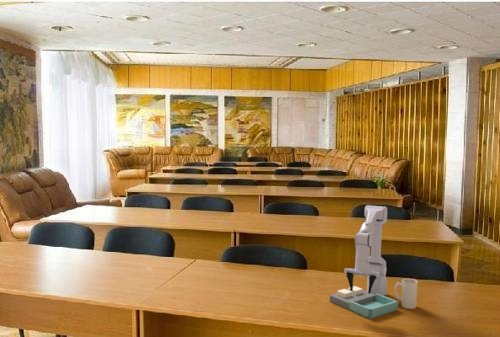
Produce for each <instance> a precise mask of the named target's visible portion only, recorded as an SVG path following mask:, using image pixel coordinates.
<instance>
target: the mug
mask: <svg viewBox="0 0 500 337" xmlns="http://www.w3.org/2000/svg"><path fill="white" fill-rule="evenodd" d="M399 286H401V295H399V294H398V292H397V288H398V287H399ZM393 291H394V292H393V293H394V295H395V297H396V299H397V300H400V301H401V307H403V308H405V309H408V310H412V309H416V308H417V297H418V296H417V295H418V280H417V279H414V278H407V277H406V278H402V279H401V282H400V281H396V283H395V285H394V287H393Z"/></svg>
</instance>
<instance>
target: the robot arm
mask: <svg viewBox="0 0 500 337" xmlns="http://www.w3.org/2000/svg"><path fill="white" fill-rule="evenodd" d="M363 212H364V214H363V215H364V217H365V219H366V220H365V222H363V223H362V224H361V227H360V229H359V231H358V232H356V234H355V237H354V244H355V248H354V249H355V262H354V265H355V266H354V268H349V267H348V268H347V267H345V268H344V270H343V273H344V274H346V275H345V276H346V278H347V281H348V284H349V287H350V291H352V290H353V286H354V276H355V275H360V276H366V277H367V278H366V279H367V280H366V283H367V284H366V290H365V291H366V292H368V293H369V294H370V293H371V294H374V295H375V294H376V293H377V294H380V295H382V296H386V295H389V292H388V280H387V277H386V274H387V261H386V260H385V259H384V258H383V257H382V255H381V253H382V235H383V234H382V232H383V225H384V224H386V223H387V221H388V207H387V206H385V205H384V206H381V205H379V206H378V205H369V204H367V205H366V206H365V207H364V211H363Z"/></svg>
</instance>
